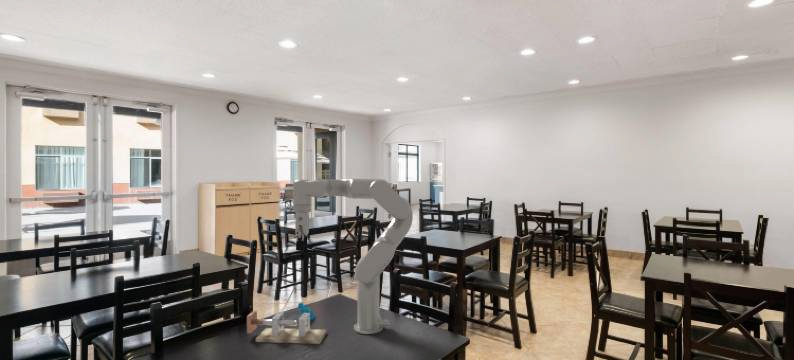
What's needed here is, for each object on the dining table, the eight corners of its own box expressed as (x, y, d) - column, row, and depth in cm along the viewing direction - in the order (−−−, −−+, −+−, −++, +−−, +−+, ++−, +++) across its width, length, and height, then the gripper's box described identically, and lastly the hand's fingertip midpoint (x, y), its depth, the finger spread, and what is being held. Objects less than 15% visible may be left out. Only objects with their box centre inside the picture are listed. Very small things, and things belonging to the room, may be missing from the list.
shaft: (299, 328, 163) (298, 311, 162) (294, 334, 157) (294, 317, 156) (253, 327, 164) (253, 310, 164) (247, 333, 158) (246, 316, 158)
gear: (312, 320, 174) (297, 303, 175) (302, 330, 173) (287, 313, 174) (318, 314, 185) (304, 299, 186) (309, 323, 184) (295, 308, 185)
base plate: (326, 333, 164) (326, 329, 164) (319, 343, 154) (319, 340, 154) (265, 331, 166) (265, 328, 166) (255, 341, 156) (255, 338, 156)
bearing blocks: (309, 330, 163) (309, 312, 163) (304, 337, 156) (304, 319, 156) (278, 329, 164) (278, 312, 164) (271, 336, 157) (271, 318, 157)
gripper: (309, 210, 160) (308, 252, 160) (312, 206, 177) (311, 244, 177) (290, 210, 159) (289, 252, 159) (295, 206, 176) (294, 244, 176)
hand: (301, 247), depth 168 cm, fingers open, 9 cm apart
